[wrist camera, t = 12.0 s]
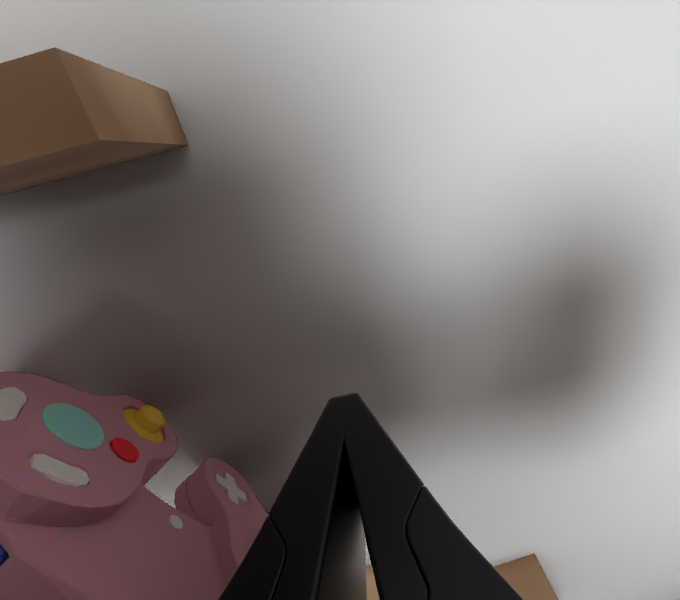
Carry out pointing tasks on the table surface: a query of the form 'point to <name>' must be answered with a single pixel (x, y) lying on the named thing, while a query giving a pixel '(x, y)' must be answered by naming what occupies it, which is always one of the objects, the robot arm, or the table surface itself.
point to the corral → (76, 119)
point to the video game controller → (109, 502)
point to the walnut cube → (527, 578)
